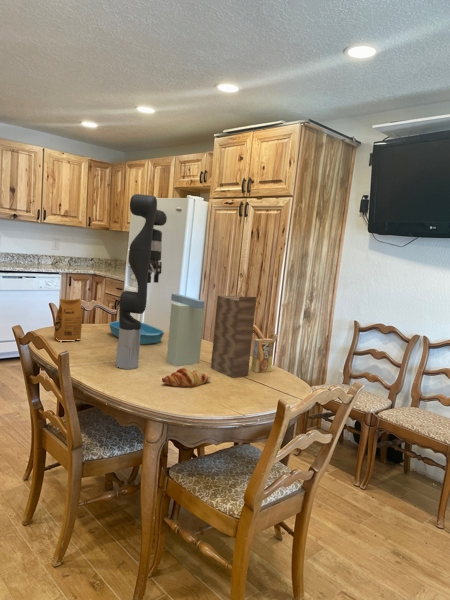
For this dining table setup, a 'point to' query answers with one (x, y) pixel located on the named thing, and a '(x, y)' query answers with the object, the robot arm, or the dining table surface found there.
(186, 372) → the croissant
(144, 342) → the casserole dish
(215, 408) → the dining table surface
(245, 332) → the post
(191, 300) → the rail
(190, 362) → the step
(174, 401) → the dining table surface
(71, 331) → the coffee package
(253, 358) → the candy box
